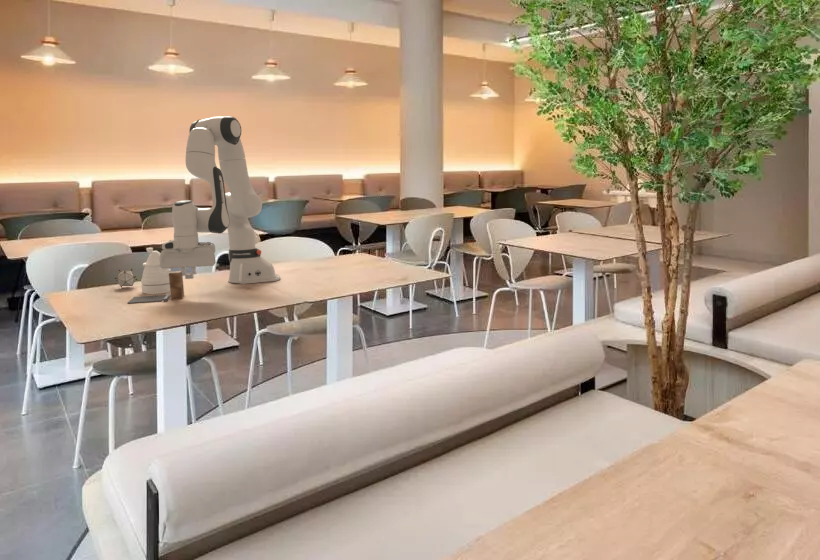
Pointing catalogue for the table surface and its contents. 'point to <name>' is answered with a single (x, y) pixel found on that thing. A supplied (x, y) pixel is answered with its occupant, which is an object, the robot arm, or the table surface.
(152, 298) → the mat
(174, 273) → the walnut block
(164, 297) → the rail
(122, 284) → the twenty-sided die
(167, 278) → the honey pot
